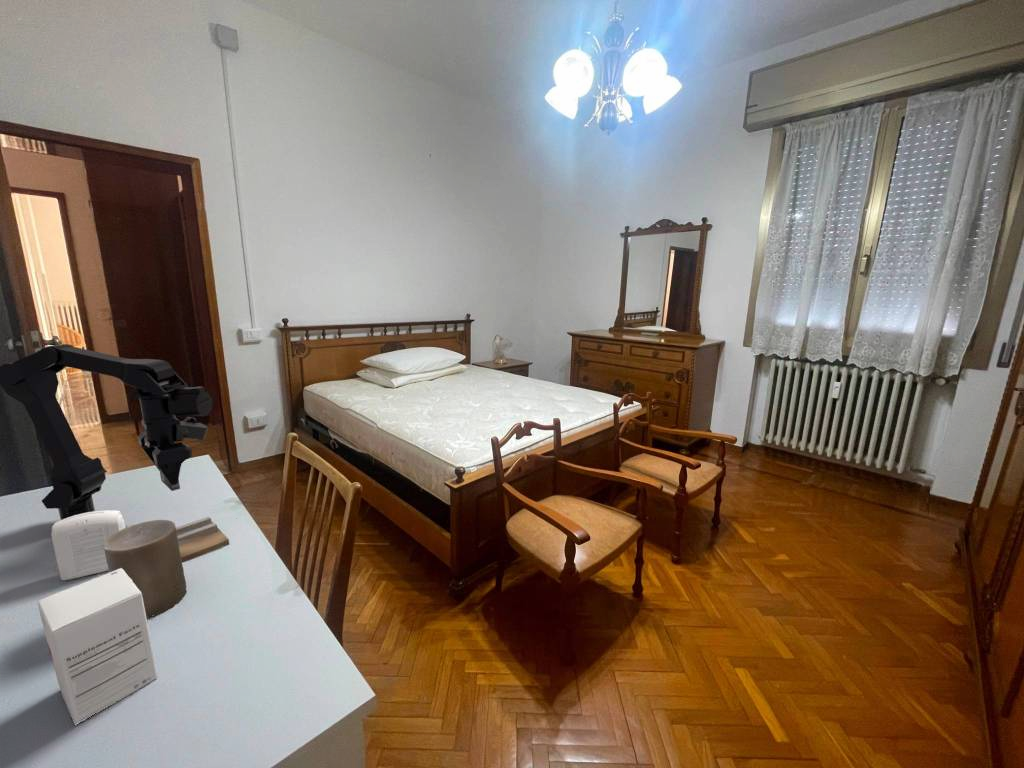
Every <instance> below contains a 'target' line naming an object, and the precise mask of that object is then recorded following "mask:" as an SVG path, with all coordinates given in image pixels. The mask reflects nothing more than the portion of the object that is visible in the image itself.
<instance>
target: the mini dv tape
mask: <svg viewBox="0 0 1024 768" xmlns="http://www.w3.org/2000/svg"><path fill="white" fill-rule="evenodd" d="M159 475H160V481H161V482H162V483H163V485H165V486H166V487H167V489H169V490H170V491H172V492H173V491H177V490H181V486H180V480H179V479H178V483H177V484H175V485H171V484H170V482H169V481H168V480H167V478H166V477H165V476H164V474H163V473H162V472H161V470H160V471H159Z"/></svg>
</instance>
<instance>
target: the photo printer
mask: <svg viewBox="0 0 1024 768" xmlns="http://www.w3.org/2000/svg"><path fill="white" fill-rule="evenodd" d="M124 528H126V524H125V519H124V517H123V515H122V513H121V511H120V510H111V509H108V510H107V509H106V510H95V511H93V512H87V513H82V514H78V515H74V516H71V517H68V518H65V519H63V520H61V519H59V520H58V521H56V522H54V524H53V525H51V533H50V536H51V539H52V540H51V541H52V544H53V545H52V546H53V550H54V555H55V559H56V563H57V564H56V565H57V567H58V568H57V569H58V572H59V576H60V577H59V578H60V579H61V580H62V581H69V580H75V579H78V578H82V577H86V576H90V575H93V574H94V575H95V574H98V573H103V572H109V571H108V565H107V560H106V556H105V551H104V549H103V544H104V542H105V541H106V540H107V538H109V537H110V536H112V535H113V534H115V533H117V532H119V531H120V530H122V529H124Z"/></svg>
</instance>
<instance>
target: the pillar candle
mask: <svg viewBox="0 0 1024 768" xmlns="http://www.w3.org/2000/svg"><path fill="white" fill-rule="evenodd" d="M176 528H177V527H176V524H175V522H173V521H172V520H170V519H155V520H148V521H143V522H139V523H136V524H132V525H129V526H128V527H125V528H124V529H122V530H120V531H119V532H117V533H115V534H113V535H112V536H110V537H109V538H107V540H106V541H105V542H104V544H103V549H104V551H105V556H106V560H107V565H108V571H107V572H108V573H110V572H112V571H115V570H117V569H120V568H122V569H123V570H124V571H125V573H126V574H127V575H128V576H129V578H131V579H132V581H133V583H134V584H135V585H136V587H137V588H138V589H139V590H140V592H141V593H142V597H143V602H144V608H145V613H146V618H147V619H148V618H151V617H153V616H157V615H160V614H162V613H164V612H166V611H168V610H170V609H171V608H173V607H175V606H176V605H178V603H180V602H181V600H183V598H184V597H185V596H186V594H187V593H188V590H187V580H186V576H185V572H184V567H183V563H182V560H181V555H180V550H179V544H178V538H177V532H176Z"/></svg>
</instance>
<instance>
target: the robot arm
mask: <svg viewBox="0 0 1024 768" xmlns="http://www.w3.org/2000/svg"><path fill="white" fill-rule="evenodd" d="M66 368H72V369H77V370H80V371H86V372H90V373H94V374H100V375H104V376H107V377H108V376H109V377H114V378H116V379H119V380H120V381H121V382H123V383H124V384H126V386H131V387H133V388H134V390H133V391H132V392H130V393H129V394H128V395H127V398H128V399H139V404H140V410H141V414H142V415H141V416H142V417H141V418H142V420H141V422H140V423H141V425H142V426H143V428H144V431H142V432H140V434H139V435H138V436H137V440H138V441H137V442H138V445H140V447H141V449H142V450H143V452H144V453H145V454H146V455H147V457H148V458H149V459H150V460H151V462H152V464H153V465H155V467H156V468H157V470H158V471H159V472H160V470H161V472H162V473H163V474H164V476H165V477H166V478H167V480H168V481H169V482H170V484H171V485H175V484H177V483H178V479H179V478H180V472H181V469H182V465H183V463H184V462H185V461H186V460H188V459H190V458H192V457H193V453H192V448H191V447H190V446H189V445H188V444H186V443H183V441H184V439H195V440H199V441H204V440H206V439H205V438H206V436H207V432H208V430H209V429H208V426H207V425H205V424H203V423H202V422H197V419H196V418H195V417H207V416H208V415H209V414H210V413H212V412H211V411H212V409H213V403H214V402H213V398H212V397H211V395H210V393H208V392H207V391H206V390H205V386H196V387H195V386H194V387H192V386H191V387H190V386H189V385H188V384H187V383H186V381H184V379H183V378H182V377H181V376H180V375H179V374H178V373H177V372H176V371H175V370H174V369H173V366H171V364H170V363H169V362H168V361H166V360H165V359H164V360H162V359H153V358H152V359H151V358H126V357H122V356H117V355H112V354H108V353H104V352H99V351H96V350H95V351H94V350H90V349H85V348H81V347H77V346H73V345H72V344H68V343H63V344H54V345H48V346H44V347H43V348H41V349H39V350H38V351H36V352H34V353H32V354H30V355H27V356H25V357H22V358H19V359H17V360H16V361H13V362H9V363H8V362H6V363H4V364H1V365H0V387H1V388H2V389H3V391H4V392H5V393H6V395H7V396H9V397H11V398H12V399H14V400H16V401H18V402H19V403H21V404H22V405H23V406H24V407H25V410H26V412H27V414H28V415H29V417H30V420H31V421H32V423H33V425H34V428H35V429H36V432H37V433H38V436H39V437H40V440H41V441H42V444H43V445H44V448H45V449H46V451H47V453H48V455H49V458H50V459H51V461H52V469H51V473H50V481H51V485H52V489H51V490H50V492H49V493H48V494H46V496H44V498H43V499H41V502H42V504H43V505H44V507H45V509H50V510H51V509H57V510H58V514H59V518H60V519H59V520H63V519H65V518H68V517H71V516H74V515H78V514H82V513H87V512H93V511H96V510H95V504H94V499H93V495H94V494H96V493H99V492H100V491H101V490H102V485H103V484H104V482H105V481H106V480H107V479H106V478H107V477H106V473H107V472H108V470H106V469H105V468H104V466H103V464H102V460H101V459H100V458H99V457H95V458H91V457H89V456H88V455H86V454H85V453H84V452H83V450H82V448H81V447H80V444H79V442H78V440H77V438H76V435H75V434H74V431H73V430H72V428H71V426H70V423H69V421H68V419H67V418H66V415H65V414H64V411H63V409H62V407H61V405H60V403H59V400H58V399H57V392H58V388H59V379H58V373H60V372H62V371H63V370H65V369H66ZM177 417H185V419H183V420H179V419H178V418H177Z"/></svg>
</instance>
